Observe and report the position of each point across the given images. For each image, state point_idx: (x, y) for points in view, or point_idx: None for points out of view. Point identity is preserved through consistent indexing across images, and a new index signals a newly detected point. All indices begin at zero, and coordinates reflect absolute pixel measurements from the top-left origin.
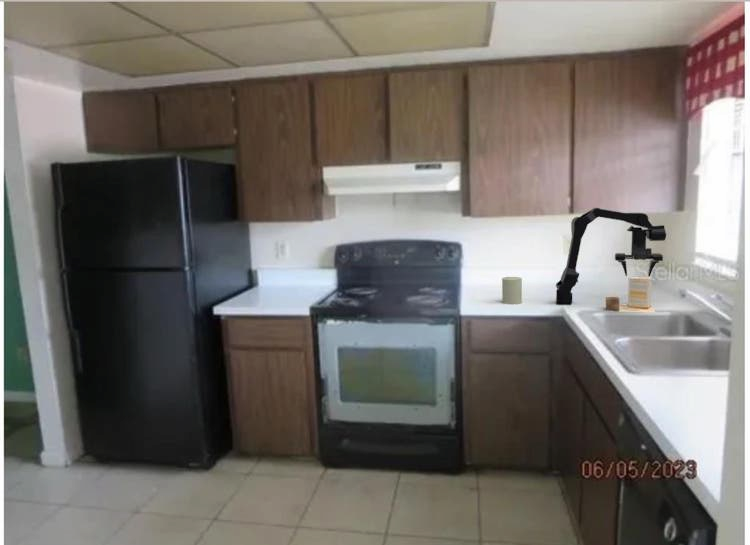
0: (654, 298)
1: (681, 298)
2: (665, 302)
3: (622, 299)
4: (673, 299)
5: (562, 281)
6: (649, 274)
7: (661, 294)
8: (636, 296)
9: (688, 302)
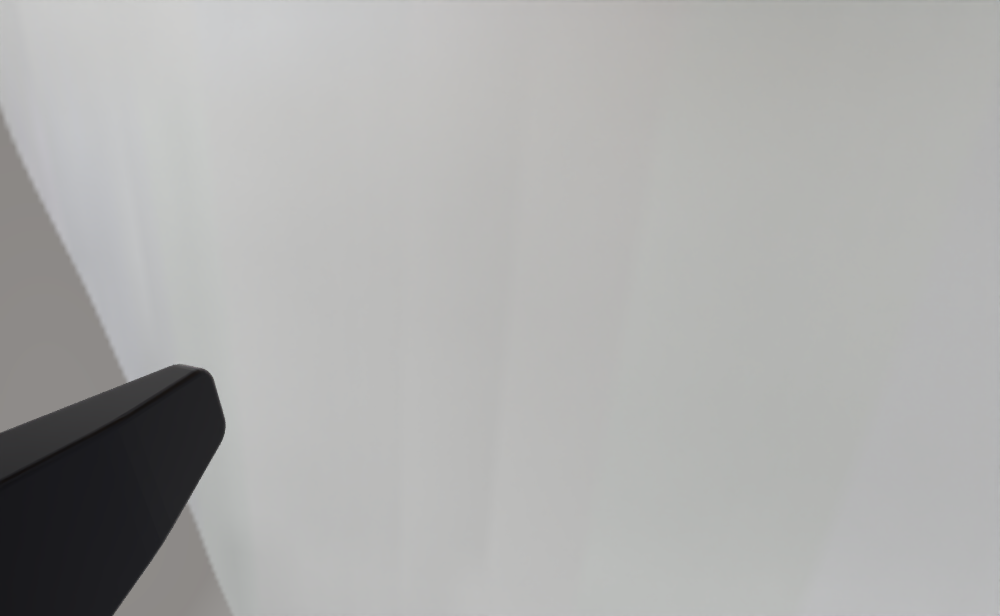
0: (415, 434)
1: None
2: (282, 182)
3: (899, 404)
4: (215, 367)
5: None
6: (137, 395)
7: (344, 607)
8: None
9: (49, 195)
